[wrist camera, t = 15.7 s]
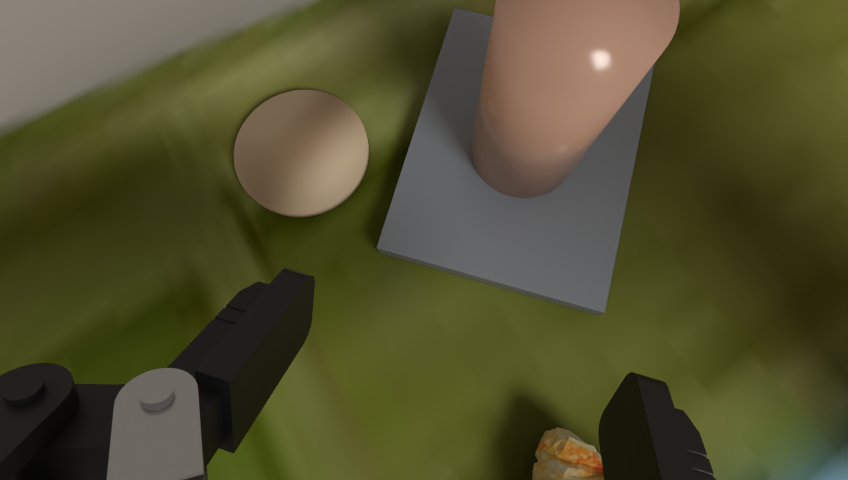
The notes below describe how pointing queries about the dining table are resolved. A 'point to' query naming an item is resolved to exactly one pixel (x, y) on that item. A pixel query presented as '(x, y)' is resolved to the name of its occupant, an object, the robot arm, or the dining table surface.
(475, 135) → the pinkish tan rounded cylinder
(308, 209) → the cork coaster
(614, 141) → the slate board
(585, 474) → the croissant
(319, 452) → the dining table surface
